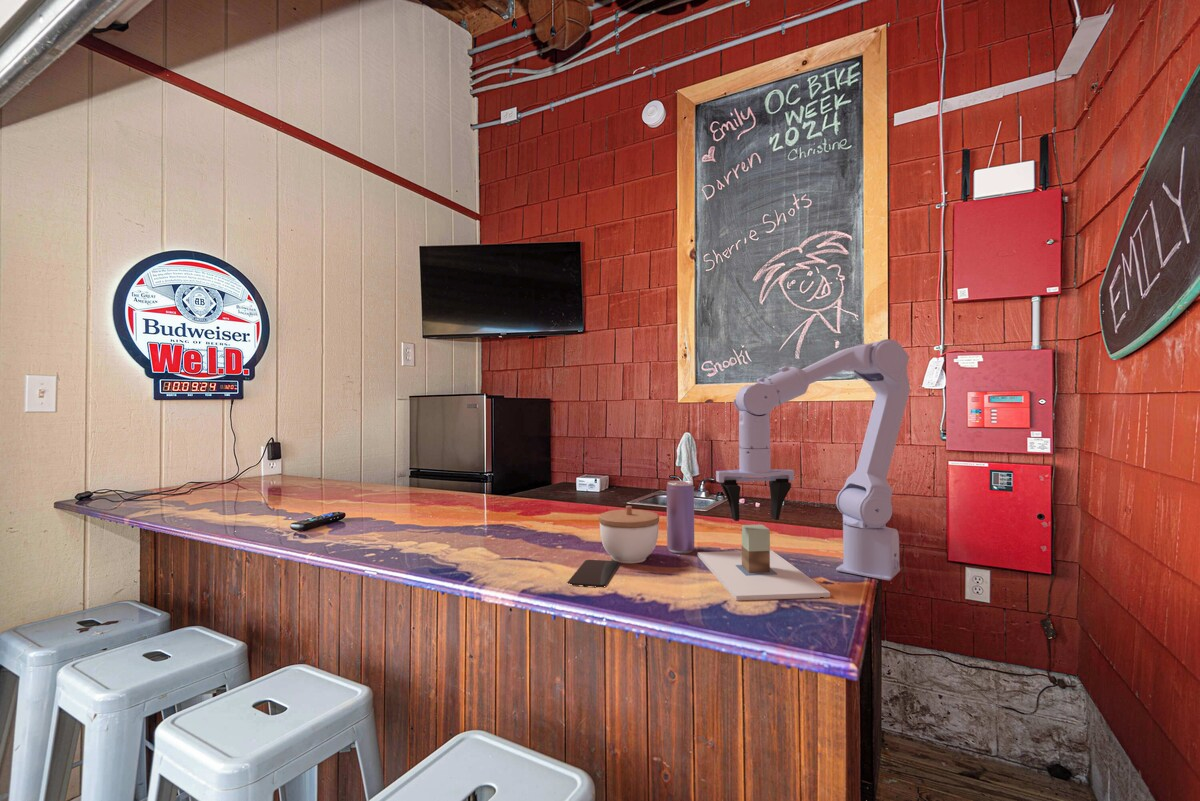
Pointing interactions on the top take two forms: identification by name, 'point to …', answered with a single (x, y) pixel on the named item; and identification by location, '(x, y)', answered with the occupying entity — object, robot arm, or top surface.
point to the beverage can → (680, 516)
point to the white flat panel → (761, 578)
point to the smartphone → (594, 573)
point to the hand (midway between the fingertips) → (755, 519)
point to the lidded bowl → (629, 534)
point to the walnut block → (755, 561)
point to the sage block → (756, 537)
